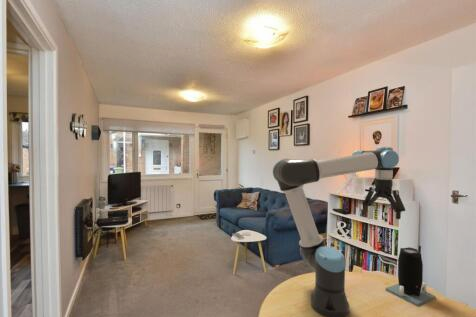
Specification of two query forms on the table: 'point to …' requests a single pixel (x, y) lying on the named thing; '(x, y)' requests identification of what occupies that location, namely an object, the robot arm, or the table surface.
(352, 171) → the robot arm
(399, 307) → the table surface
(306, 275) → the table surface
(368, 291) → the table surface
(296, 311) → the table surface
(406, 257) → the portable speaker
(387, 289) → the pin pad
